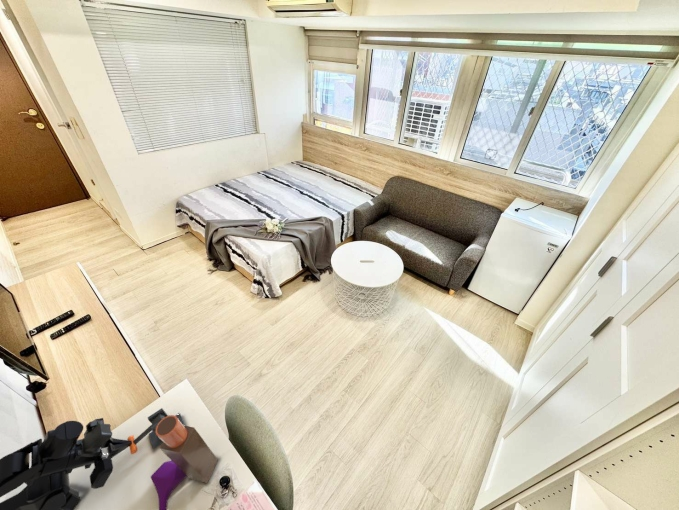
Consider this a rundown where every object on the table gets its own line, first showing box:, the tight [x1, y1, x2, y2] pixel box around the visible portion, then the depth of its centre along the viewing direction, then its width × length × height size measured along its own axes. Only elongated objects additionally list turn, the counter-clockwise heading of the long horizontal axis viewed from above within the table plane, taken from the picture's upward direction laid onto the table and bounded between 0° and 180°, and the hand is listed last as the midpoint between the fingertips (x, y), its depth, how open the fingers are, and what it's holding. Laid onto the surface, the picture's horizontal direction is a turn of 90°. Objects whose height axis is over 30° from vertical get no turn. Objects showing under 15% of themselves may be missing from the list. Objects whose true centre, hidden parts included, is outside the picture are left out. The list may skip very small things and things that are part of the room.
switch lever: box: [126, 414, 165, 455], centre depth 87 cm, size 11×6×2 cm, turn 134°
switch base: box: [147, 407, 186, 450], centre depth 91 cm, size 10×6×10 cm, turn 134°
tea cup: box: [156, 414, 187, 448], centre depth 68 cm, size 5×5×7 cm
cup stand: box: [158, 424, 219, 484], centre depth 77 cm, size 6×6×24 cm
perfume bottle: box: [150, 459, 188, 510], centre depth 77 cm, size 8×8×18 cm
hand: (131, 443), depth 85 cm, fingers closed, pressing on switch lever
